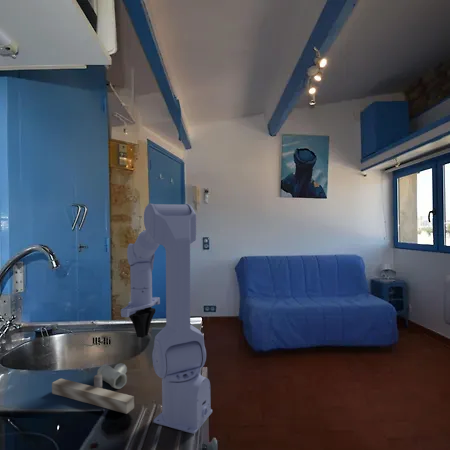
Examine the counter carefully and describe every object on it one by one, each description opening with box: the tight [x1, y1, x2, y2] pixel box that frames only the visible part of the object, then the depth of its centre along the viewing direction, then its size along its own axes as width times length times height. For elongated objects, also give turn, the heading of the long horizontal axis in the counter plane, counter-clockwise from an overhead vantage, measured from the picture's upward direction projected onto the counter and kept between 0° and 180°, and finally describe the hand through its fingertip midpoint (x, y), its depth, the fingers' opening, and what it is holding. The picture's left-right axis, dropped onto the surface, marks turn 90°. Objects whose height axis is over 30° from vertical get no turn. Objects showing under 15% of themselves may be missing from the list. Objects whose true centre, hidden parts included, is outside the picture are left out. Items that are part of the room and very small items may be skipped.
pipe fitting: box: [96, 362, 128, 390], centre depth 83 cm, size 8×4×7 cm
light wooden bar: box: [51, 374, 135, 415], centre depth 75 cm, size 22×4×4 cm, turn 67°
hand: (142, 336), depth 91 cm, fingers closed
